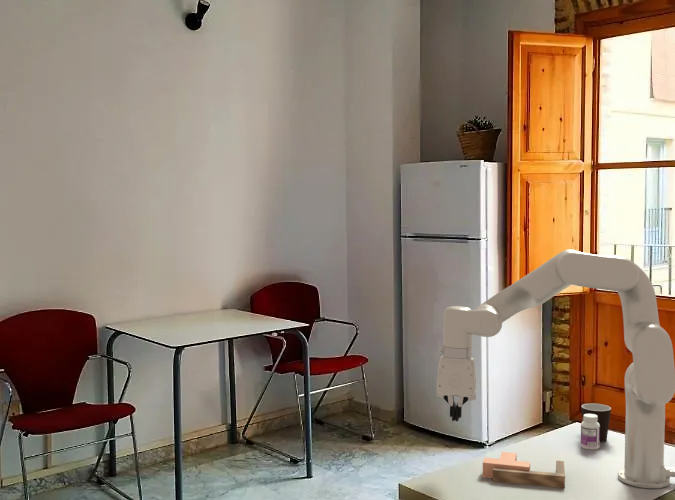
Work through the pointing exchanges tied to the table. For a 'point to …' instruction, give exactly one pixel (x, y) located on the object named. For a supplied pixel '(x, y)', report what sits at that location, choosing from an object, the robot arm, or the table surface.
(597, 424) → the pill bottle
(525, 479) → the walnut fence
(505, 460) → the t block
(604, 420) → the coffee mug
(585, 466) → the table surface
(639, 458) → the robot arm
